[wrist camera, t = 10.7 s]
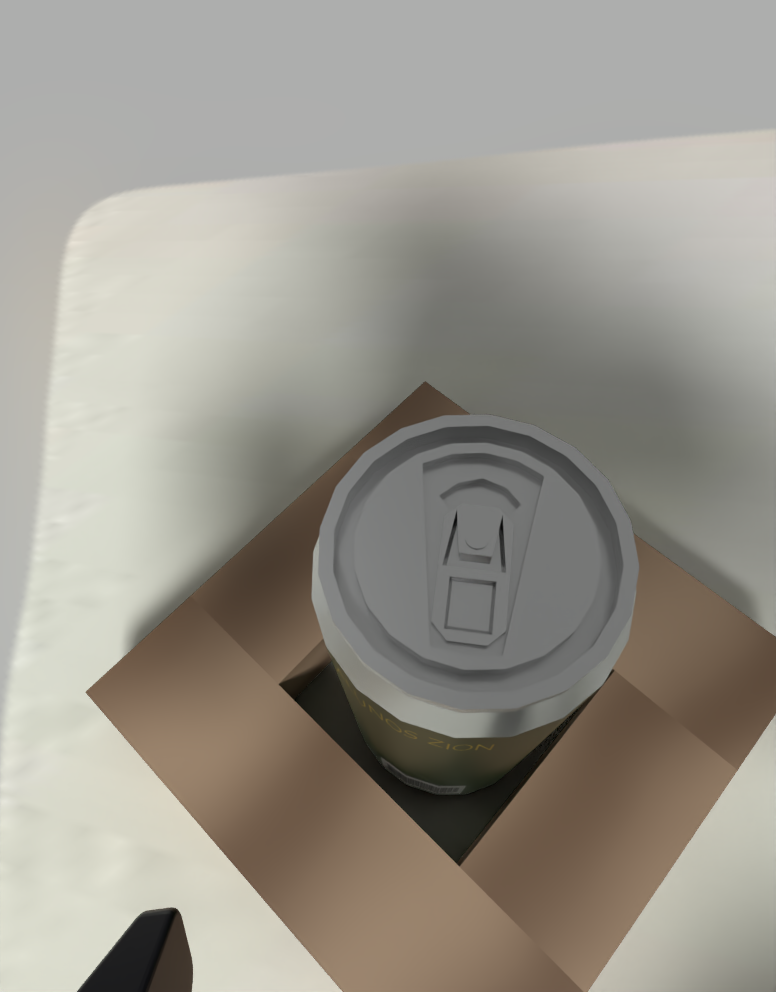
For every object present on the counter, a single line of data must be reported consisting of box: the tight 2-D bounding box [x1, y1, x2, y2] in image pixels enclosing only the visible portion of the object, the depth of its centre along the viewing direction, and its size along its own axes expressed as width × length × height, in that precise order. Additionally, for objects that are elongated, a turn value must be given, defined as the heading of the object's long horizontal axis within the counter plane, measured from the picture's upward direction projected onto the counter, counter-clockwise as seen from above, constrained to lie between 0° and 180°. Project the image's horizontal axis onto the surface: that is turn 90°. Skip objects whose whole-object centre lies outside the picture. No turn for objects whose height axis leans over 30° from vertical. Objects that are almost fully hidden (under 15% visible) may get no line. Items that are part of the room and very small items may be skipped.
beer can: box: [311, 414, 639, 795], centre depth 16 cm, size 5×5×12 cm
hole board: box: [86, 382, 776, 992], centre depth 21 cm, size 14×14×2 cm
